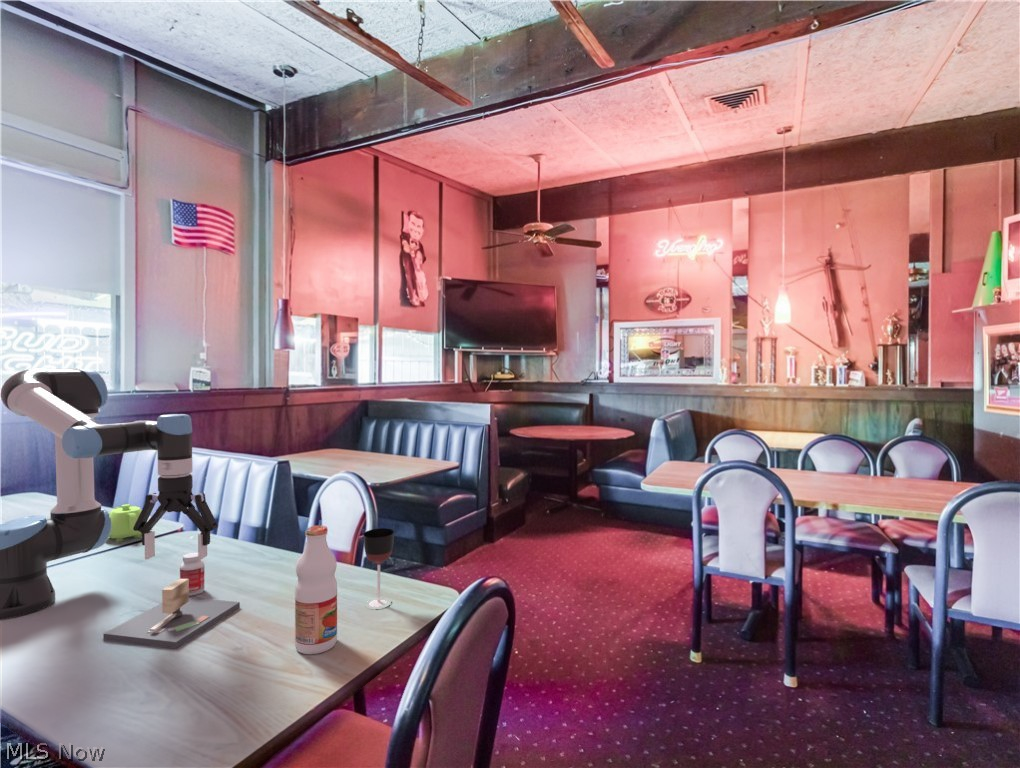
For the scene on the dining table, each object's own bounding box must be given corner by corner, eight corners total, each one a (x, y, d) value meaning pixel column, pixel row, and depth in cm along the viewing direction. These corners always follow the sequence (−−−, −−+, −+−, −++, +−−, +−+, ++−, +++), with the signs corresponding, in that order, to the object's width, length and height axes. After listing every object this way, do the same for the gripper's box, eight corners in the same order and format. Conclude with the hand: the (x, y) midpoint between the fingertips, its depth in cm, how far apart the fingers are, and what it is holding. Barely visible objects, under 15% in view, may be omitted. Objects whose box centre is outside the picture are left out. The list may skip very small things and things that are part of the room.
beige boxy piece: (179, 609, 141) (178, 578, 141) (189, 609, 141) (189, 578, 141) (146, 632, 129) (146, 598, 128) (158, 632, 129) (157, 599, 128)
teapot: (96, 536, 207) (96, 503, 207) (137, 528, 217) (137, 497, 217) (113, 547, 194) (112, 512, 194) (155, 538, 205) (155, 505, 204)
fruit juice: (298, 637, 131) (298, 523, 130) (338, 633, 133) (339, 521, 132) (291, 657, 122) (291, 535, 121) (335, 653, 124) (335, 532, 123)
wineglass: (399, 600, 152) (400, 530, 152) (380, 612, 144) (380, 539, 144) (377, 595, 156) (377, 526, 155) (356, 607, 148) (357, 535, 147)
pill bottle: (205, 593, 155) (205, 556, 155) (180, 598, 152) (180, 560, 152) (203, 586, 160) (203, 549, 160) (179, 591, 157) (179, 553, 157)
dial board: (103, 639, 129) (103, 632, 129) (176, 601, 150) (176, 595, 150) (175, 648, 125) (175, 641, 125) (239, 607, 147) (239, 601, 147)
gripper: (115, 477, 133) (117, 562, 133) (215, 478, 133) (216, 563, 133) (137, 472, 141) (138, 552, 141) (231, 472, 140) (232, 552, 141)
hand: (176, 557), depth 137 cm, fingers open, 13 cm apart
